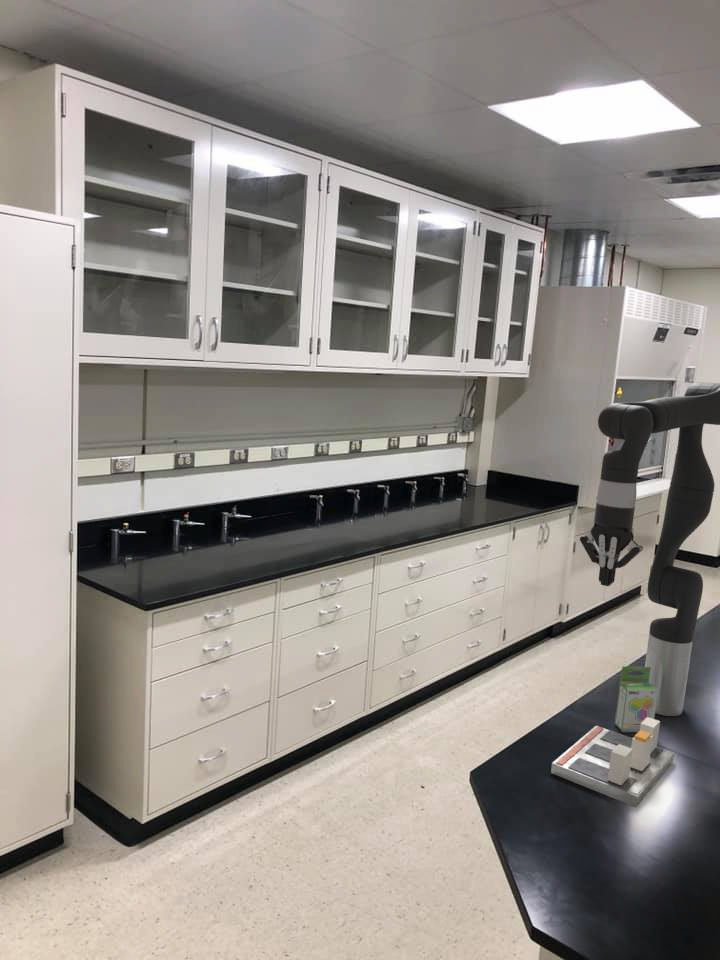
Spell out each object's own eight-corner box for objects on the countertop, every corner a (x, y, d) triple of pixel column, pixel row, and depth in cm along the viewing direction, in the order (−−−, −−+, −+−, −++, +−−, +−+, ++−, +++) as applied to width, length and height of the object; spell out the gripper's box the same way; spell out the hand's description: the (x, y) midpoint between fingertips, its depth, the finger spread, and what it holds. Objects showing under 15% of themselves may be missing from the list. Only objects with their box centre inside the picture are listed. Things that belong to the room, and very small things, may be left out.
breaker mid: (635, 758, 147) (639, 728, 146) (648, 763, 146) (653, 733, 145) (628, 766, 144) (632, 735, 143) (642, 771, 143) (646, 740, 142)
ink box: (622, 733, 163) (630, 673, 161) (613, 724, 167) (621, 665, 165) (652, 733, 164) (661, 673, 162) (643, 724, 168) (651, 666, 166)
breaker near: (615, 772, 142) (619, 744, 141) (629, 777, 140) (632, 748, 139) (607, 780, 138) (611, 751, 138) (621, 785, 137) (625, 756, 136)
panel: (595, 734, 161) (596, 724, 161) (673, 762, 152) (674, 752, 151) (550, 772, 144) (552, 762, 144) (636, 807, 134) (637, 795, 134)
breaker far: (643, 742, 154) (647, 717, 153) (656, 747, 153) (660, 721, 152) (637, 749, 151) (640, 723, 150) (650, 754, 149) (653, 727, 149)
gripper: (654, 506, 155) (643, 589, 158) (591, 496, 163) (582, 574, 166) (642, 510, 149) (631, 596, 152) (577, 499, 157) (568, 581, 160)
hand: (605, 584), depth 159 cm, fingers closed
